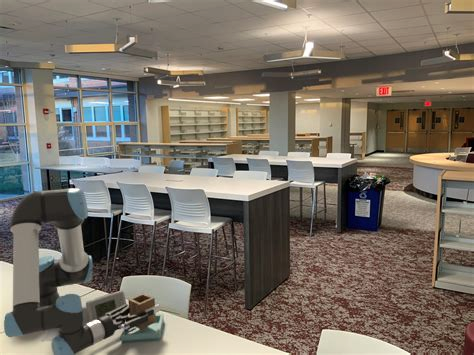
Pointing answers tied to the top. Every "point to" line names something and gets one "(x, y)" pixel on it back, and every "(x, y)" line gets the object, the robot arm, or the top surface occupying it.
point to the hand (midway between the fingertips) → (152, 304)
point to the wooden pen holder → (142, 308)
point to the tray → (144, 332)
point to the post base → (51, 334)
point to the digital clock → (104, 304)
